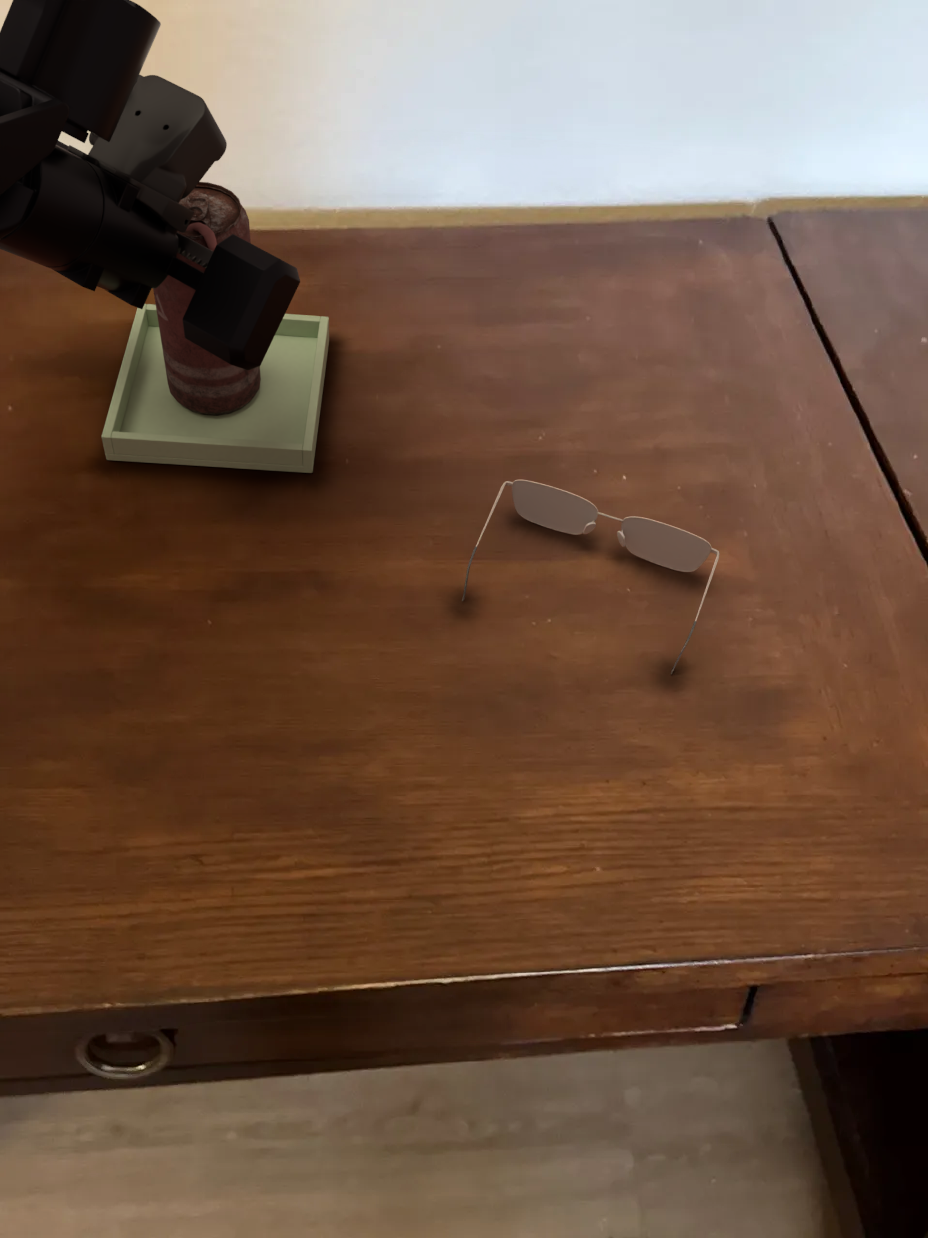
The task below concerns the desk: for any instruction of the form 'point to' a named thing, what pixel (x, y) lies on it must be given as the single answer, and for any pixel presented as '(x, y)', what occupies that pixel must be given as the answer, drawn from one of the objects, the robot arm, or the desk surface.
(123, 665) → the desk surface
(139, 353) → the tray
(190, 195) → the can
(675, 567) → the eyeglasses
